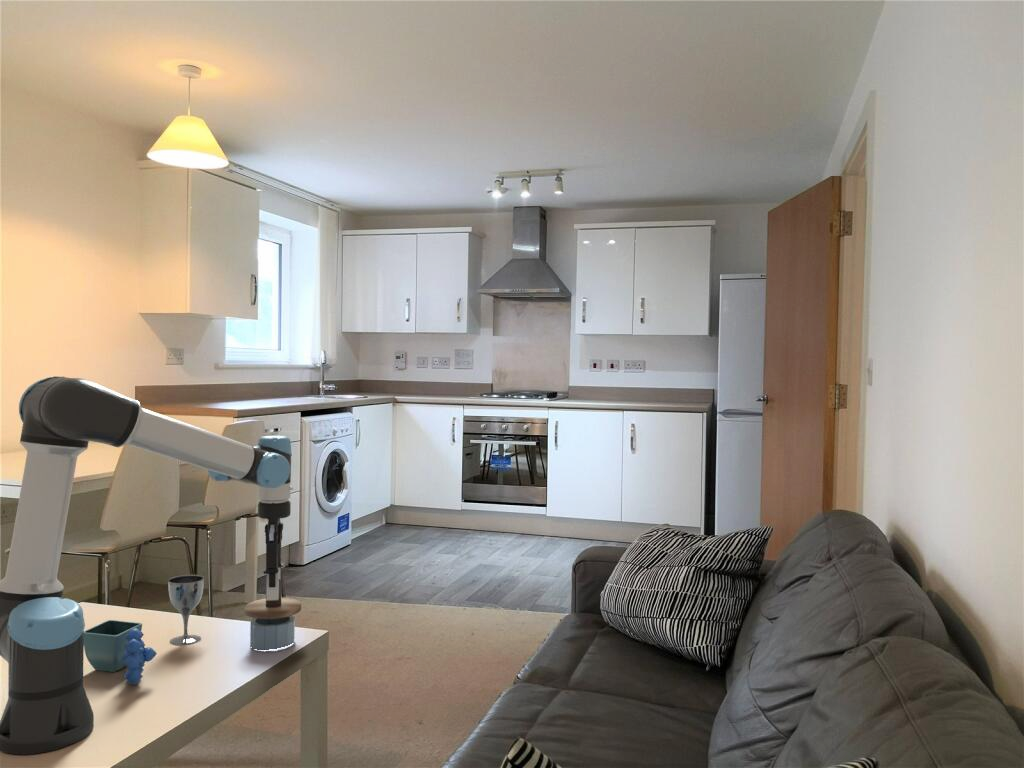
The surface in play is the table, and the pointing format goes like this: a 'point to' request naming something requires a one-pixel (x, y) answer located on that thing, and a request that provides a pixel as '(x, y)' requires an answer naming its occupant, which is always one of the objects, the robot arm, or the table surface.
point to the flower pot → (108, 644)
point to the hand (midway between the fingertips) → (273, 597)
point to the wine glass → (185, 602)
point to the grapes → (136, 656)
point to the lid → (273, 607)
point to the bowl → (272, 633)
